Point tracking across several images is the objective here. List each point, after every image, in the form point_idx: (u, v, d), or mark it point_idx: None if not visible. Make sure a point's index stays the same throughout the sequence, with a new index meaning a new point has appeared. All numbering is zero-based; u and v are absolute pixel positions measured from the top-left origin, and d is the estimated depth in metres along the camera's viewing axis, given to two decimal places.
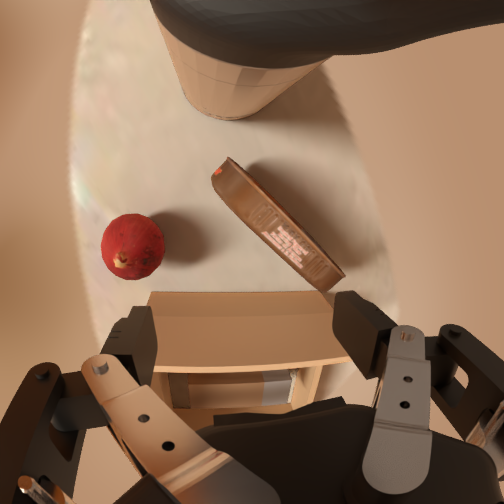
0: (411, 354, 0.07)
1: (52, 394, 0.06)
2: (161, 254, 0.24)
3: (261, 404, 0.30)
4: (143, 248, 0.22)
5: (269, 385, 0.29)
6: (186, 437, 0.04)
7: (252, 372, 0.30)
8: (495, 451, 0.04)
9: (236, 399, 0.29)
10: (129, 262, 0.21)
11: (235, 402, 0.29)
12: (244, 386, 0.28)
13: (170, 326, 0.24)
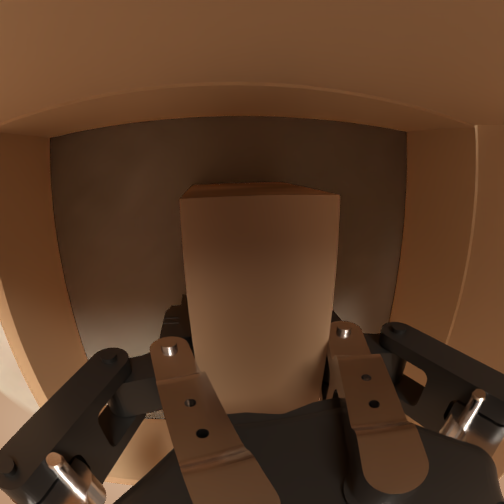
0: (340, 349, 0.08)
1: (113, 380, 0.07)
2: None
3: None
4: None
5: None
6: (223, 428, 0.05)
7: None
8: (479, 439, 0.04)
9: (245, 371, 0.08)
10: None
11: (228, 370, 0.08)
12: (312, 379, 0.09)
13: None
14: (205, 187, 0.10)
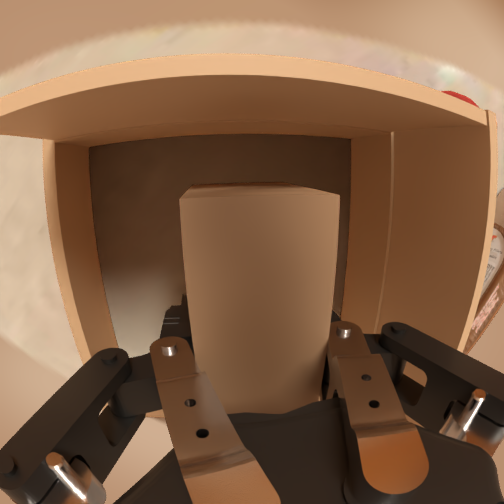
0: (340, 350, 0.08)
1: (113, 380, 0.07)
2: None
3: None
4: None
5: None
6: (223, 428, 0.05)
7: None
8: (479, 439, 0.04)
9: (245, 371, 0.08)
10: None
11: (228, 370, 0.08)
12: (311, 379, 0.09)
13: None
14: (205, 187, 0.10)
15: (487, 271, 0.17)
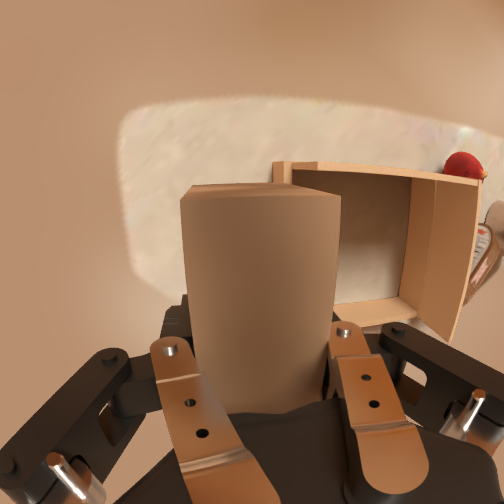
0: (340, 350, 0.08)
1: (113, 380, 0.07)
2: None
3: None
4: None
5: None
6: (223, 428, 0.05)
7: None
8: (479, 439, 0.04)
9: (246, 372, 0.08)
10: None
11: (229, 371, 0.08)
12: (312, 380, 0.09)
13: None
14: (206, 188, 0.10)
15: (481, 250, 0.31)
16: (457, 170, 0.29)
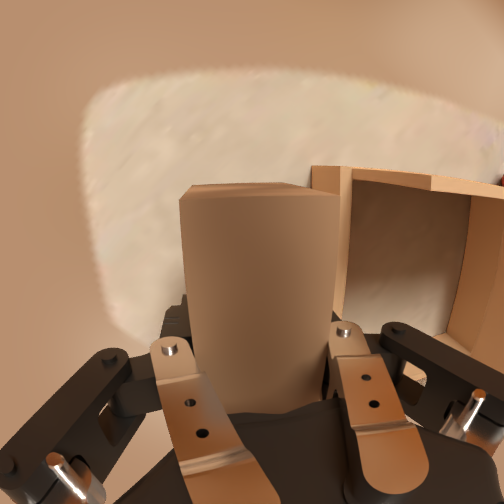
0: (340, 349, 0.08)
1: (113, 381, 0.07)
2: None
3: None
4: None
5: None
6: (223, 428, 0.05)
7: None
8: (479, 439, 0.04)
9: (245, 372, 0.08)
10: None
11: (228, 371, 0.08)
12: (312, 380, 0.09)
13: None
14: (205, 188, 0.10)
15: None
16: None
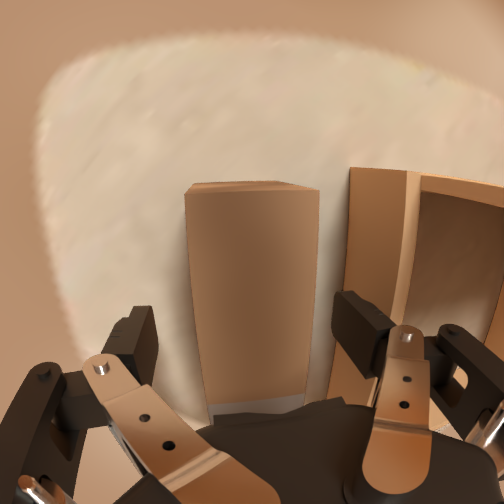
0: (410, 354, 0.07)
1: (53, 393, 0.06)
2: None
3: (213, 403, 0.10)
4: None
5: (290, 405, 0.11)
6: (187, 436, 0.04)
7: None
8: (495, 450, 0.04)
9: (240, 344, 0.10)
10: None
11: (225, 343, 0.10)
12: (299, 354, 0.10)
13: None
14: (205, 185, 0.12)
15: None
16: None
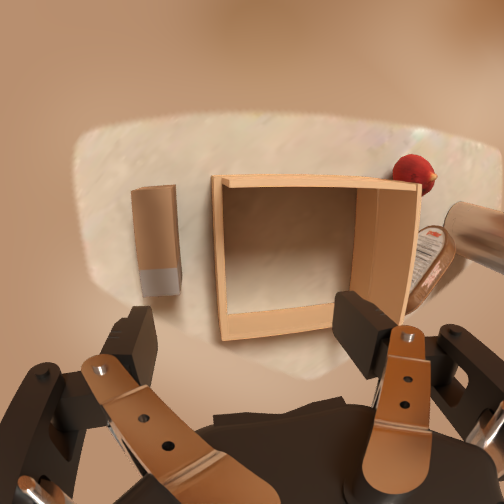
0: (411, 354, 0.07)
1: (52, 393, 0.06)
2: None
3: (141, 270, 0.28)
4: (429, 190, 0.32)
5: (172, 273, 0.29)
6: (186, 436, 0.04)
7: (177, 253, 0.30)
8: (495, 451, 0.04)
9: (149, 241, 0.28)
10: (430, 182, 0.30)
11: (144, 241, 0.28)
12: (171, 247, 0.28)
13: None
14: None
15: (433, 254, 0.34)
16: (404, 173, 0.32)
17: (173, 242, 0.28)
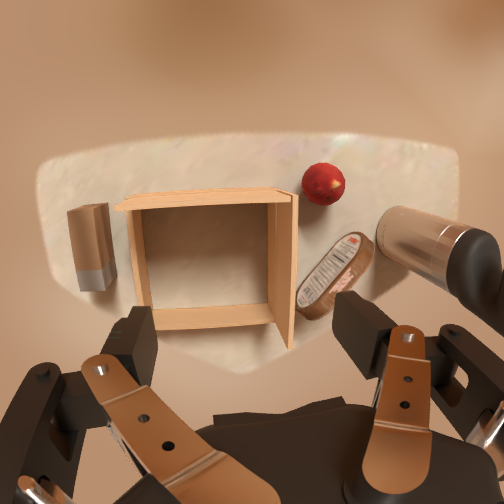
0: (411, 354, 0.07)
1: (52, 393, 0.06)
2: None
3: (77, 270, 0.34)
4: (336, 197, 0.36)
5: (98, 274, 0.34)
6: (186, 436, 0.04)
7: (104, 258, 0.36)
8: (495, 451, 0.04)
9: (81, 249, 0.33)
10: (333, 190, 0.35)
11: (77, 249, 0.33)
12: (96, 253, 0.34)
13: None
14: (81, 207, 0.35)
15: (346, 260, 0.39)
16: (307, 183, 0.36)
17: (97, 250, 0.34)
